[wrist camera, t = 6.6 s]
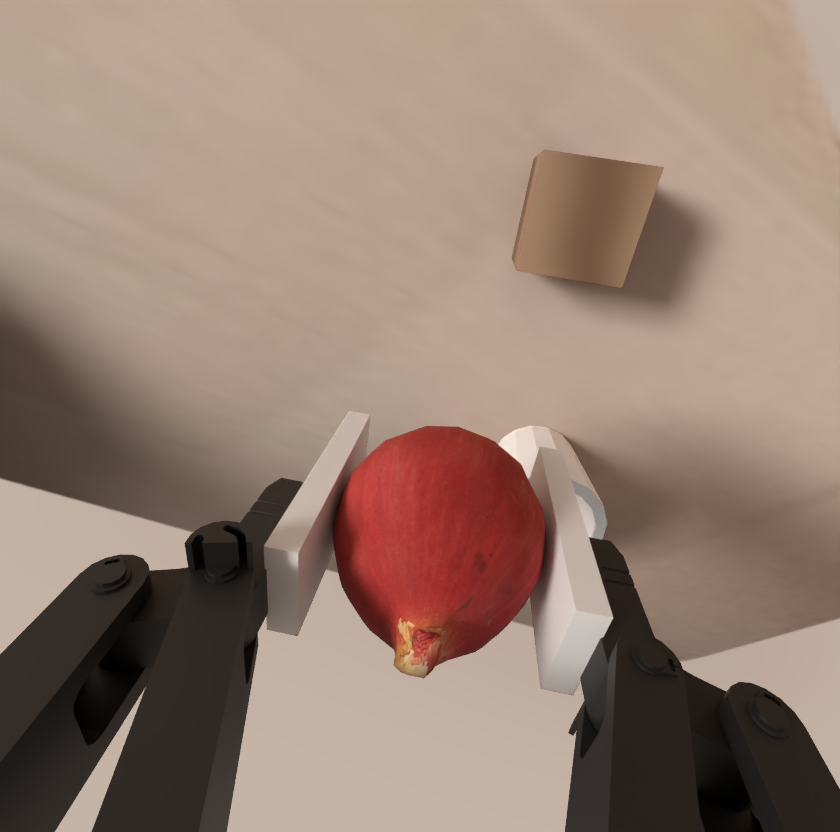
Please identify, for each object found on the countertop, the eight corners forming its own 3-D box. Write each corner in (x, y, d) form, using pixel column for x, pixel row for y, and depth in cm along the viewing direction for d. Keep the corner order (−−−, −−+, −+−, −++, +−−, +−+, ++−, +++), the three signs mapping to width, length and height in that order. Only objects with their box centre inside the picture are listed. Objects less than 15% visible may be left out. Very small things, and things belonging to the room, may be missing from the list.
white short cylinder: (534, 514, 33) (545, 587, 27) (464, 463, 32) (459, 527, 26) (605, 457, 30) (635, 525, 24) (530, 398, 29) (542, 453, 23)
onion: (554, 499, 16) (611, 748, 9) (413, 539, 17) (364, 774, 10) (494, 358, 14) (504, 533, 7) (340, 419, 15) (218, 609, 8)
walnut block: (511, 257, 25) (516, 270, 21) (533, 158, 23) (544, 149, 19) (598, 271, 25) (622, 287, 21) (629, 172, 23) (664, 167, 18)
